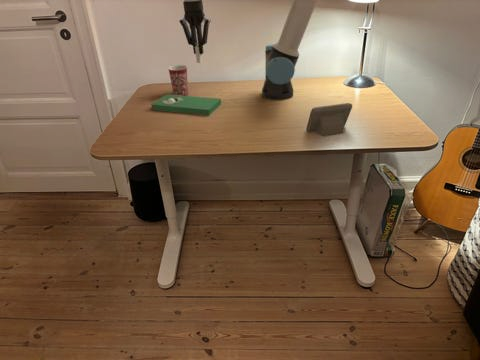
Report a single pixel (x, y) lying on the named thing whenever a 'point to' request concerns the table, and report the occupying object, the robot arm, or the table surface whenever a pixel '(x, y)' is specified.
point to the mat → (187, 104)
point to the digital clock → (329, 119)
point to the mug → (179, 79)
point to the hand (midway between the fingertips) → (199, 61)
